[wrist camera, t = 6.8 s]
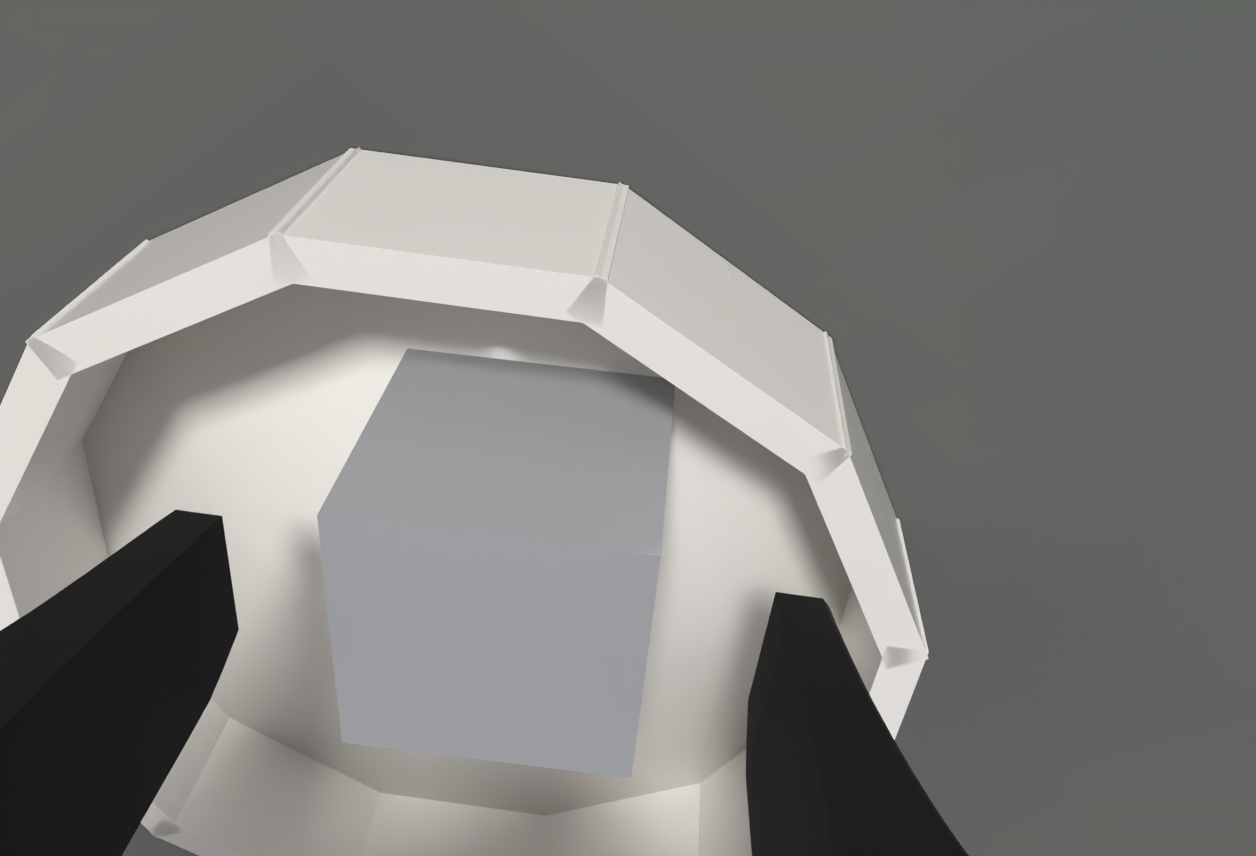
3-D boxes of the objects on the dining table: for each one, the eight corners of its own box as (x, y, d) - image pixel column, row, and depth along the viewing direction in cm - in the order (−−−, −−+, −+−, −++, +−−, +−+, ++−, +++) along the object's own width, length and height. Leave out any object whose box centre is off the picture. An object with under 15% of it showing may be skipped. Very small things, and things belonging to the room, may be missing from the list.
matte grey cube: (676, 378, 15) (661, 556, 12) (649, 581, 17) (630, 778, 14) (407, 347, 15) (316, 515, 12) (416, 553, 17) (342, 742, 14)
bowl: (996, 232, 14) (1054, 336, 12) (793, 844, 22) (802, 984, 19) (-14, 97, 14) (-174, 171, 12) (144, 753, 22) (70, 881, 19)
